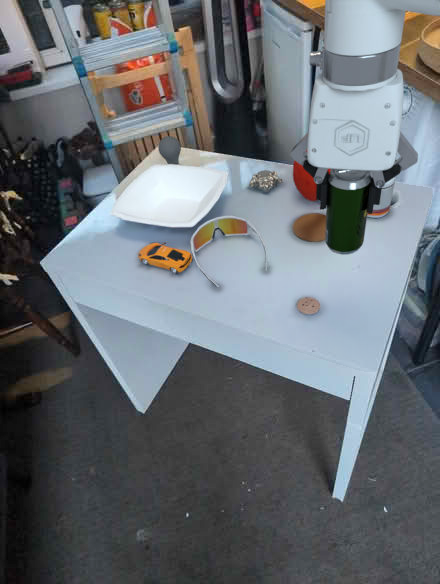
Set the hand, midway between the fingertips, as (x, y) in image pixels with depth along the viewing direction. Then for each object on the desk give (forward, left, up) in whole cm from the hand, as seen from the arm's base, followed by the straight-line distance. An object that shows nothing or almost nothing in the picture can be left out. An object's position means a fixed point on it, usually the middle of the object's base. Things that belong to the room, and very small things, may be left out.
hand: (347, 204), depth 58 cm
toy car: (+36, -6, -22) cm, 42 cm away
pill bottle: (-3, -30, -22) cm, 37 cm away
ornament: (+22, -35, -22) cm, 47 cm away
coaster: (+8, -22, -22) cm, 32 cm away
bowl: (+40, -22, -22) cm, 51 cm away
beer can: (0, 0, -7) cm, 7 cm away
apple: (+10, -33, -22) cm, 41 cm away
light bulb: (+47, -38, -22) cm, 64 cm away
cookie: (+5, 0, -22) cm, 23 cm away
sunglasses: (+23, -10, -22) cm, 34 cm away
